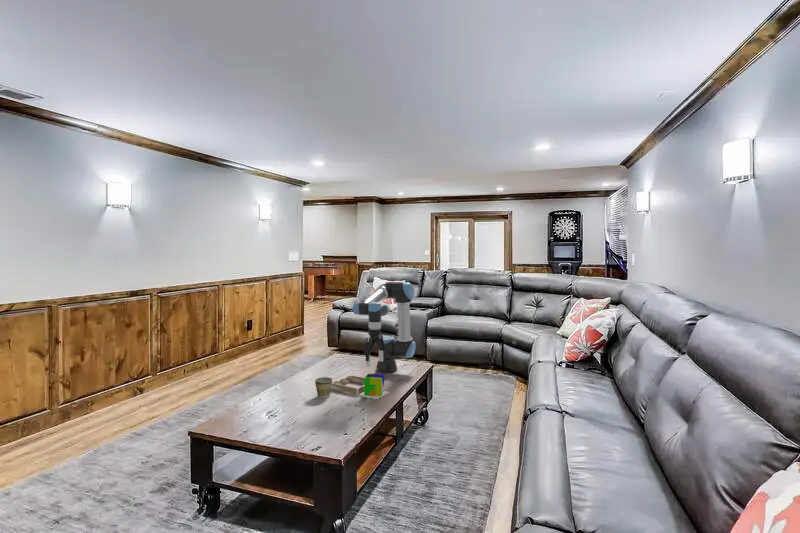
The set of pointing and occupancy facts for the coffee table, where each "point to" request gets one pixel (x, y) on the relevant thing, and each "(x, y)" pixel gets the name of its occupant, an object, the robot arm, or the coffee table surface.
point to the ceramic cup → (323, 387)
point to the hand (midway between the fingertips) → (374, 363)
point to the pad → (374, 396)
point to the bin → (341, 387)
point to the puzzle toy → (374, 384)
